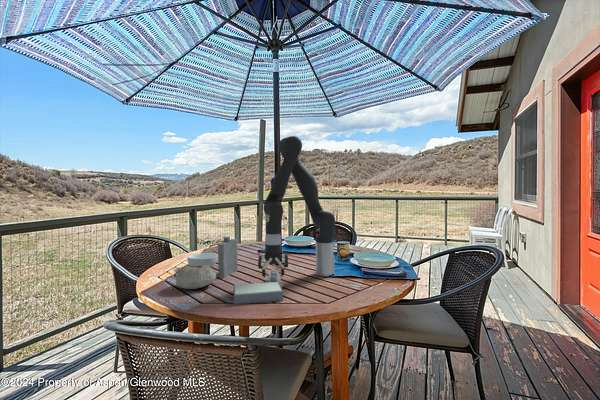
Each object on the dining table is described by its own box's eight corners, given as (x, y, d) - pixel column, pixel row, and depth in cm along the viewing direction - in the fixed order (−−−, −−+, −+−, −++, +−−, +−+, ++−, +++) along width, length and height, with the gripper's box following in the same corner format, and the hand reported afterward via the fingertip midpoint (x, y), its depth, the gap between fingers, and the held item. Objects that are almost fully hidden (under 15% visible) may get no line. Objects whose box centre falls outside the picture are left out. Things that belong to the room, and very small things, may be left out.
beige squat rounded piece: (194, 279, 168) (193, 259, 167) (223, 283, 161) (223, 263, 160) (168, 290, 151) (167, 268, 151) (199, 295, 144) (198, 272, 144)
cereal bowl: (224, 266, 193) (224, 254, 192) (201, 273, 179) (201, 260, 178) (204, 262, 202) (204, 251, 201) (181, 268, 188) (181, 256, 187)
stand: (278, 290, 150) (278, 281, 150) (283, 300, 138) (282, 290, 137) (233, 293, 146) (233, 284, 146) (233, 304, 134) (233, 294, 133)
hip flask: (222, 278, 168) (222, 239, 167) (216, 278, 170) (215, 239, 168) (238, 270, 183) (237, 234, 182) (232, 269, 185) (231, 234, 183)
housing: (279, 280, 165) (279, 267, 165) (282, 287, 155) (282, 273, 154) (265, 281, 164) (265, 268, 164) (267, 288, 153) (267, 274, 153)
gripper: (286, 241, 163) (286, 273, 164) (257, 241, 160) (257, 275, 161) (289, 243, 156) (289, 277, 157) (258, 244, 153) (258, 279, 154)
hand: (273, 276), depth 159 cm, fingers open, 8 cm apart
